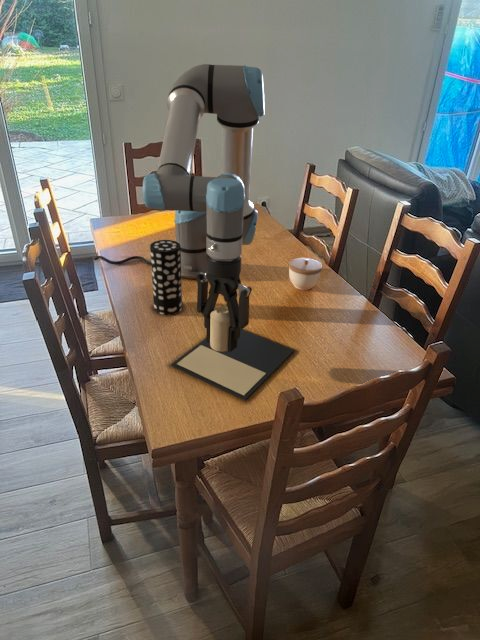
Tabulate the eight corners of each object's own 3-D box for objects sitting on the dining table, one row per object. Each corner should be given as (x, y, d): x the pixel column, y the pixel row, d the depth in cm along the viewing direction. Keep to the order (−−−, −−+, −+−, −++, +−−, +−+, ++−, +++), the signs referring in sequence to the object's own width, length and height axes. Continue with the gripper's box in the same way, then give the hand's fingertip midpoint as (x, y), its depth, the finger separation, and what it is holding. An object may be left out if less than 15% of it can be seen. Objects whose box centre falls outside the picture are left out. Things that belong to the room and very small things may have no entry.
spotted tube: (186, 304, 142) (185, 242, 131) (174, 317, 135) (172, 253, 125) (162, 298, 144) (158, 237, 134) (148, 311, 138) (144, 248, 127)
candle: (209, 338, 114) (210, 303, 108) (232, 338, 114) (233, 303, 109) (210, 352, 109) (210, 315, 104) (233, 351, 110) (235, 315, 104)
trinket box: (318, 295, 150) (322, 269, 145) (285, 290, 152) (287, 264, 147) (320, 280, 159) (323, 255, 154) (288, 276, 161) (291, 251, 156)
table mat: (170, 365, 116) (170, 364, 116) (225, 324, 134) (225, 322, 133) (245, 401, 106) (245, 399, 106) (294, 351, 124) (294, 349, 123)
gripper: (178, 249, 101) (181, 338, 113) (251, 273, 92) (245, 366, 105) (199, 238, 106) (200, 324, 118) (270, 260, 98) (263, 350, 110)
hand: (221, 344), depth 111 cm, fingers closed on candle, 5 cm apart
